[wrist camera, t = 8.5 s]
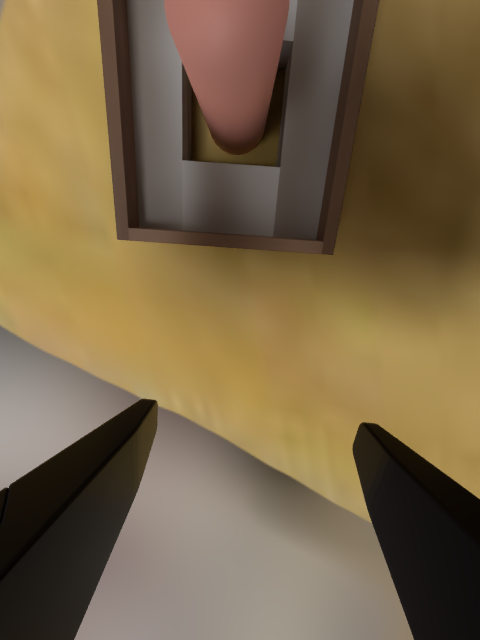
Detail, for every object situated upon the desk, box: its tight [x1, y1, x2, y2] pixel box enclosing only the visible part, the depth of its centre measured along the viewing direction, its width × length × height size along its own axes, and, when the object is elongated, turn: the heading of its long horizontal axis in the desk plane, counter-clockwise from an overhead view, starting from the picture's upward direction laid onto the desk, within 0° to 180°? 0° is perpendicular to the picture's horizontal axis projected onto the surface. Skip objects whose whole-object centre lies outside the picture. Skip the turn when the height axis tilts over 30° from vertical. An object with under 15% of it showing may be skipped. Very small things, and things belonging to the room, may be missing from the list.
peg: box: [164, 0, 290, 155], centre depth 11 cm, size 3×3×9 cm
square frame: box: [97, 0, 379, 255], centre depth 14 cm, size 11×13×4 cm
